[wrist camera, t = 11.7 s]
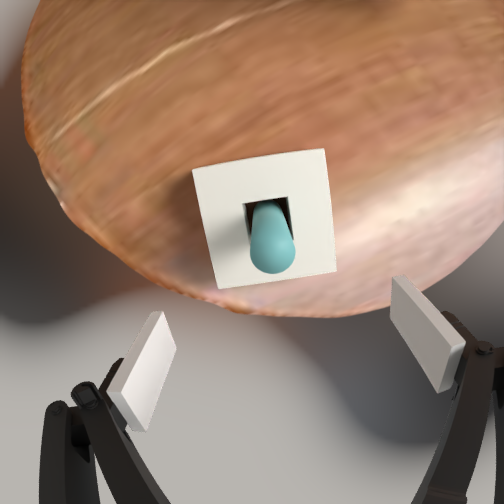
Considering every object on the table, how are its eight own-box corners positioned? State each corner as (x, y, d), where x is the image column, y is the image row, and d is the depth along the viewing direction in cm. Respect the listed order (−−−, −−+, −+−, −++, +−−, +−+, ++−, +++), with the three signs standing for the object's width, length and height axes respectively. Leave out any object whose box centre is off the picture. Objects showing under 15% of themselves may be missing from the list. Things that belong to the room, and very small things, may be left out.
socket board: (199, 167, 39) (192, 169, 34) (316, 148, 38) (323, 148, 33) (222, 274, 44) (218, 289, 39) (328, 258, 43) (336, 271, 38)
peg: (250, 201, 40) (246, 234, 25) (279, 197, 40) (292, 227, 25) (255, 229, 42) (254, 276, 27) (283, 224, 41) (298, 270, 26)
